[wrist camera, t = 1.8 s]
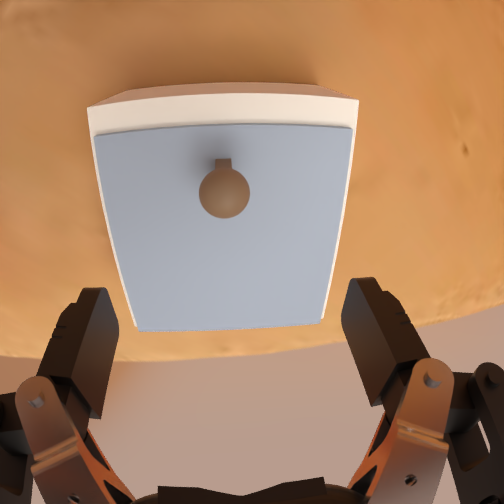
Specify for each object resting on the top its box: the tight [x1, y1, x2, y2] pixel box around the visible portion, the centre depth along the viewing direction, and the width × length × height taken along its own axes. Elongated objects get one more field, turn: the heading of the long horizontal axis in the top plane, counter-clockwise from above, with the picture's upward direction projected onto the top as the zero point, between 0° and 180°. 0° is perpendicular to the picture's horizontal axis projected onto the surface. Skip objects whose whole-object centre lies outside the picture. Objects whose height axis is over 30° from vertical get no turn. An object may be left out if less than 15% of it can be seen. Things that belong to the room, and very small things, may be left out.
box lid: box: [94, 123, 353, 332], centre depth 22 cm, size 18×17×6 cm
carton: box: [87, 82, 359, 326], centre depth 28 cm, size 20×18×10 cm
